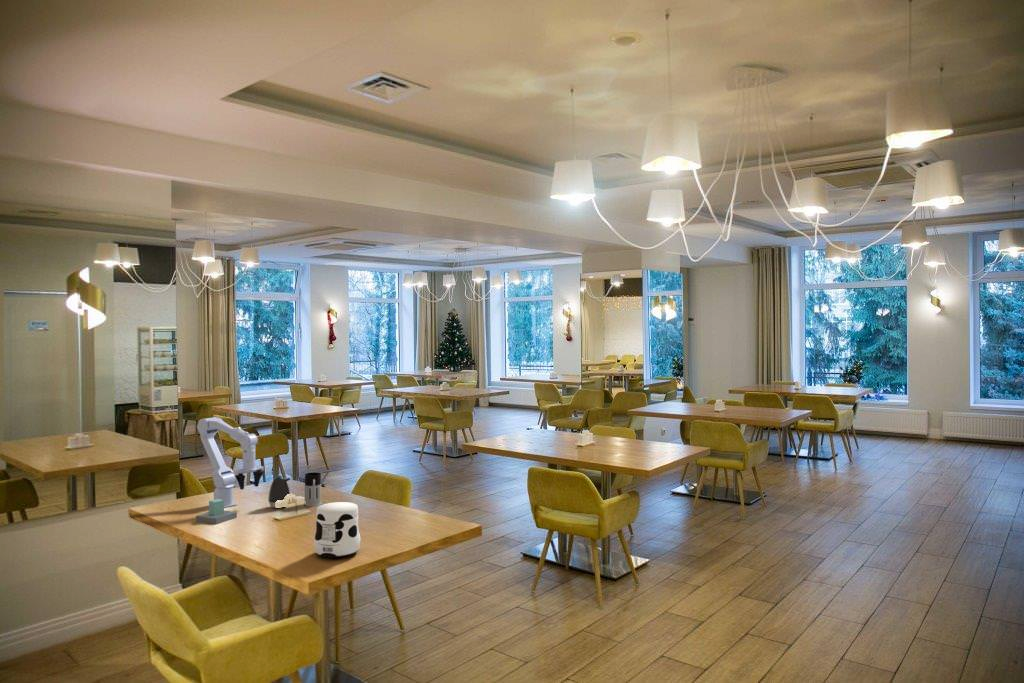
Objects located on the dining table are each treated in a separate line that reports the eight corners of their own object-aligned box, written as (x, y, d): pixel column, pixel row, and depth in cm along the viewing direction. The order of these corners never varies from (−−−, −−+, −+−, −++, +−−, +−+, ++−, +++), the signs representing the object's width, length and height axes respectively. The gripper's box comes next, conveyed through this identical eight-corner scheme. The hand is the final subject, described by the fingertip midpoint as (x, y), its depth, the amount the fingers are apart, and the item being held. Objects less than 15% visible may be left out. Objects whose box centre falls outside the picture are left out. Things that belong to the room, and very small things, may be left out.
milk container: (353, 544, 273) (353, 499, 273) (366, 557, 258) (366, 509, 258) (309, 550, 265) (309, 504, 265) (319, 564, 250) (319, 515, 249)
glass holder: (321, 501, 342) (321, 471, 342) (323, 508, 329) (323, 477, 329) (303, 502, 339) (303, 472, 339) (304, 509, 326) (304, 478, 326)
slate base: (195, 521, 306) (195, 515, 306) (216, 514, 317) (216, 509, 317) (216, 524, 301) (216, 518, 301) (236, 517, 312) (236, 511, 312)
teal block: (209, 514, 309) (209, 500, 309) (218, 511, 312) (218, 498, 312) (214, 515, 306) (214, 502, 306) (223, 513, 310) (223, 500, 310)
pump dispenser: (286, 510, 325) (286, 478, 325) (265, 510, 326) (265, 478, 325) (294, 504, 336) (293, 473, 335) (272, 504, 336) (272, 473, 336)
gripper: (239, 462, 320) (239, 491, 320) (267, 458, 332) (267, 486, 332) (231, 461, 324) (231, 489, 325) (258, 456, 336) (259, 484, 336)
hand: (249, 487), depth 329 cm, fingers open, 7 cm apart
